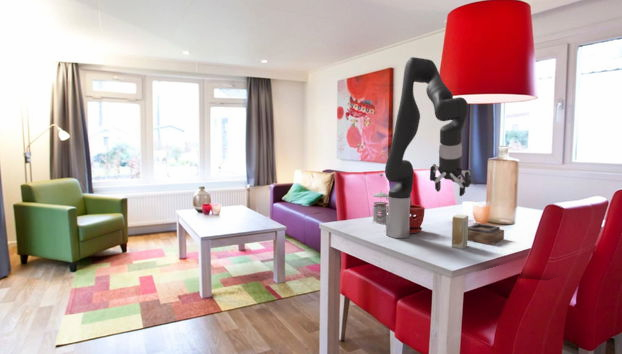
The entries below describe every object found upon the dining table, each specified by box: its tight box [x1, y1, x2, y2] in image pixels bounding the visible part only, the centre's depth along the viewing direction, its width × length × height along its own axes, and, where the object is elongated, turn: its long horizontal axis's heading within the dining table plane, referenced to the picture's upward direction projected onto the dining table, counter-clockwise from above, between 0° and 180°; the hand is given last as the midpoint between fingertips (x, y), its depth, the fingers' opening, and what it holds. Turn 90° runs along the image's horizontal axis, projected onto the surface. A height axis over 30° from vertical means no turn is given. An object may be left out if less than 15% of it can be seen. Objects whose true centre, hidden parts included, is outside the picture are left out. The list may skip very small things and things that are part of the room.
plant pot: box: [409, 204, 425, 234], centre depth 174 cm, size 13×13×12 cm
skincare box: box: [451, 214, 469, 250], centre depth 148 cm, size 6×4×12 cm
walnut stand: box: [468, 223, 505, 246], centre depth 159 cm, size 12×13×5 cm
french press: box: [371, 173, 389, 224], centre depth 195 cm, size 10×12×25 cm
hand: (449, 192), depth 141 cm, fingers open, 8 cm apart
